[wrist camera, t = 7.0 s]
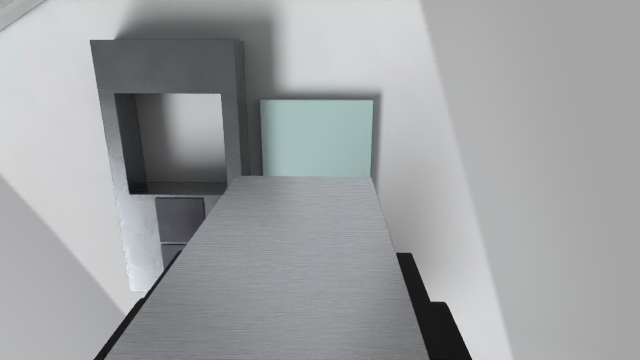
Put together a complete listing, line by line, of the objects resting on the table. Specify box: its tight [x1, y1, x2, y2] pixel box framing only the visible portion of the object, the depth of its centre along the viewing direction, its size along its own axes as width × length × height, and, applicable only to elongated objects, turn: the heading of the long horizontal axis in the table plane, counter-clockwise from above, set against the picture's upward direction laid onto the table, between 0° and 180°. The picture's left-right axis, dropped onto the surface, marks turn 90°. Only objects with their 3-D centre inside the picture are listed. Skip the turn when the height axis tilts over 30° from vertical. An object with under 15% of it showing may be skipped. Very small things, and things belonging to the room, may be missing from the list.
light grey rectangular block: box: [104, 176, 429, 360], centre depth 10 cm, size 5×5×9 cm
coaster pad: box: [260, 99, 373, 177], centre depth 27 cm, size 7×7×1 cm
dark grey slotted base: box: [90, 40, 250, 291], centre depth 26 cm, size 16×8×3 cm, turn 0°
